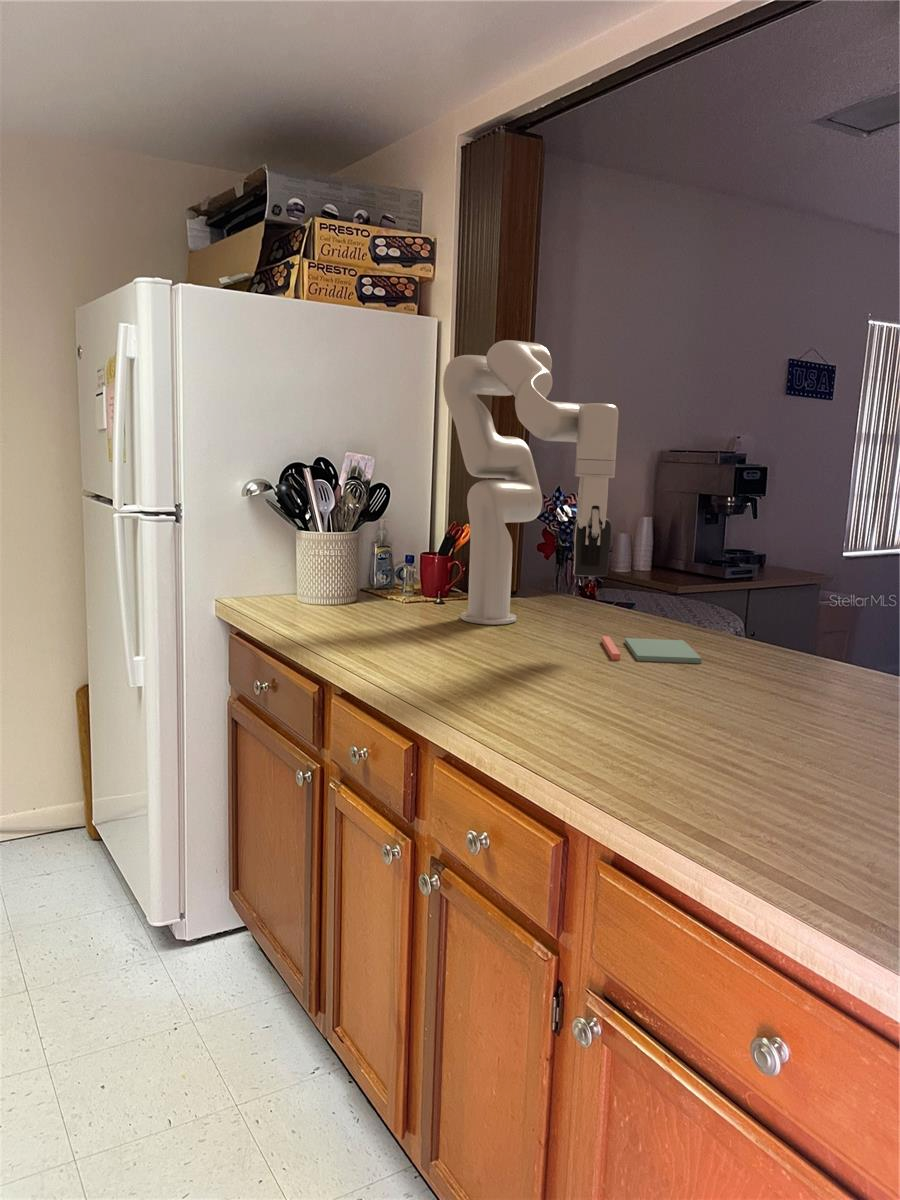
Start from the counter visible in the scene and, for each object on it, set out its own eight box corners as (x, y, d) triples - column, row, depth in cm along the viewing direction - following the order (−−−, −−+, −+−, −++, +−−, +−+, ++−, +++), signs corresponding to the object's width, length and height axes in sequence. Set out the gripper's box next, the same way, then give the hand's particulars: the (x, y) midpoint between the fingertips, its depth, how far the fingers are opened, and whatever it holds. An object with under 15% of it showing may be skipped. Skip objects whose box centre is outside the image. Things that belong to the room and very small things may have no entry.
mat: (624, 642, 189) (624, 637, 189) (683, 645, 189) (683, 640, 188) (637, 660, 173) (637, 655, 173) (701, 663, 173) (701, 658, 173)
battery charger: (603, 573, 181) (607, 516, 179) (609, 576, 178) (613, 518, 176) (569, 573, 180) (572, 515, 178) (573, 576, 177) (577, 517, 175)
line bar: (601, 641, 189) (601, 636, 189) (608, 642, 189) (609, 636, 189) (612, 659, 173) (612, 653, 173) (620, 660, 173) (620, 653, 173)
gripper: (571, 467, 184) (566, 558, 187) (579, 470, 167) (573, 569, 170) (609, 468, 184) (603, 559, 187) (620, 471, 167) (614, 570, 170)
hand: (589, 563), depth 178 cm, fingers closed on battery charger, 4 cm apart
